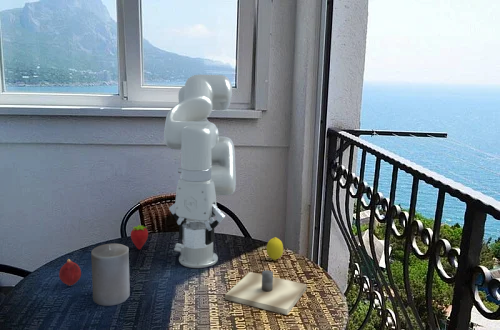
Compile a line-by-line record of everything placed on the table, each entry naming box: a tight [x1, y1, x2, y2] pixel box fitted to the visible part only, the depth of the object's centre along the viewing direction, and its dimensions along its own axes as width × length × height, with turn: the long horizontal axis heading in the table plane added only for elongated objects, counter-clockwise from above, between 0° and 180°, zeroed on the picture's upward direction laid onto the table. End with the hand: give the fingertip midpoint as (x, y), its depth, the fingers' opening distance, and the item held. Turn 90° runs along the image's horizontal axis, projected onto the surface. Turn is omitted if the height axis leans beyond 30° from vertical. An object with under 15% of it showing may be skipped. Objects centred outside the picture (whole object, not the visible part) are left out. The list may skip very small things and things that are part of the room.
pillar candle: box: [90, 243, 131, 307], centre depth 123 cm, size 10×10×15 cm
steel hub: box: [181, 220, 211, 249], centre depth 120 cm, size 7×7×5 cm
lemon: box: [266, 236, 284, 261], centre depth 151 cm, size 6×6×8 cm
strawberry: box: [130, 224, 149, 250], centre depth 158 cm, size 6×8×10 cm
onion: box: [58, 258, 82, 287], centre depth 130 cm, size 6×6×8 cm
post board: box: [224, 269, 308, 316], centre depth 128 cm, size 18×16×6 cm
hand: (196, 240), depth 120 cm, fingers closed on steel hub, 7 cm apart
